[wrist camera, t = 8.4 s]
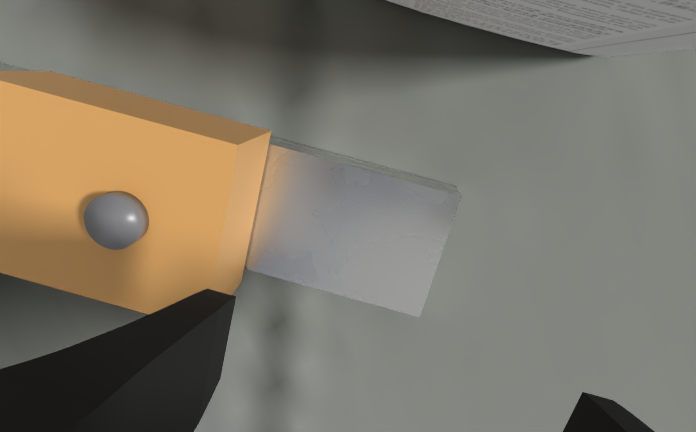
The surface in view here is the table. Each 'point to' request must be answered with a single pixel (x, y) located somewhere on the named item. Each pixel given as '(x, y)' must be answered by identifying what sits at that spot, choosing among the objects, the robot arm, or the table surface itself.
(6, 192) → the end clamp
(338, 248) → the mounting rail
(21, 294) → the table surface
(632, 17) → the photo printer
